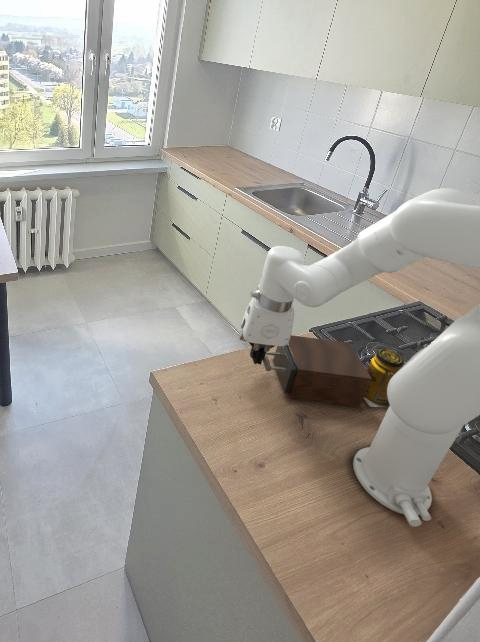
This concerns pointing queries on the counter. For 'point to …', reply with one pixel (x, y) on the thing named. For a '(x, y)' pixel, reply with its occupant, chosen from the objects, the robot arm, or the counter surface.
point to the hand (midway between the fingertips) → (255, 359)
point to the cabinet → (327, 372)
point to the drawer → (282, 366)
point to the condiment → (382, 376)
